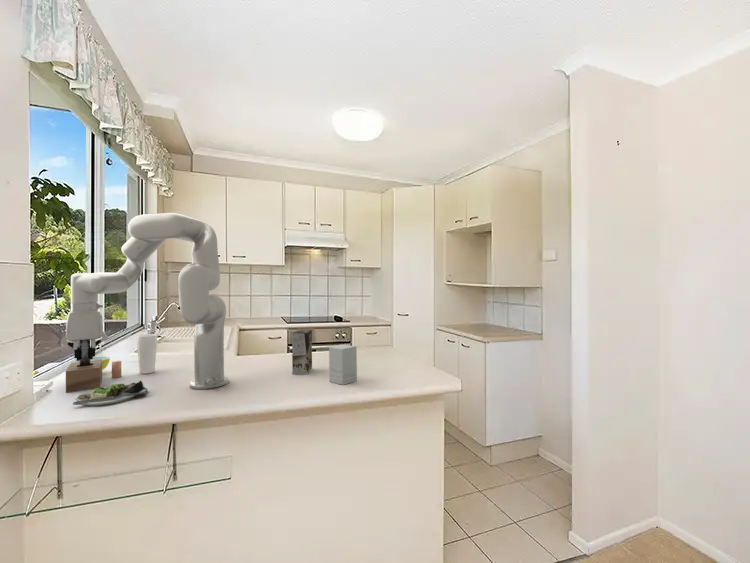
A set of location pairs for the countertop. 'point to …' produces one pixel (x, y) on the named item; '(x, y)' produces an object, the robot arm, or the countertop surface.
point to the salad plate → (111, 394)
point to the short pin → (116, 369)
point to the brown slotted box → (83, 376)
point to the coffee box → (302, 352)
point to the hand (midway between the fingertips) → (85, 359)
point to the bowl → (104, 359)
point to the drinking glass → (147, 352)
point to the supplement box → (342, 364)
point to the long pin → (84, 352)
